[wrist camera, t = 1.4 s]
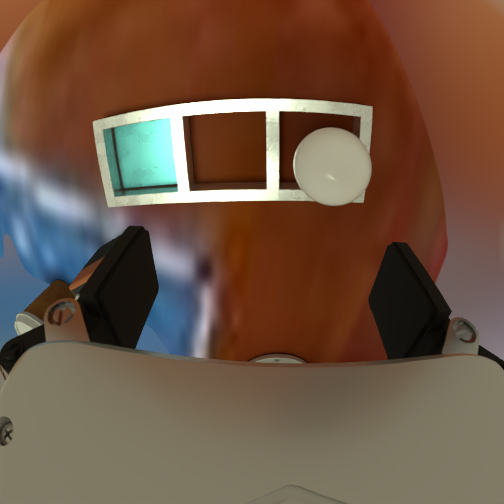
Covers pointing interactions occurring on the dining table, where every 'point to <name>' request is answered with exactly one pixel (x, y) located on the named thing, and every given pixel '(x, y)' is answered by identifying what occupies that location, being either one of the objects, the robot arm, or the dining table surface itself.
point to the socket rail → (180, 154)
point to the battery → (90, 268)
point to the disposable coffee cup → (41, 306)
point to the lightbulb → (332, 166)
